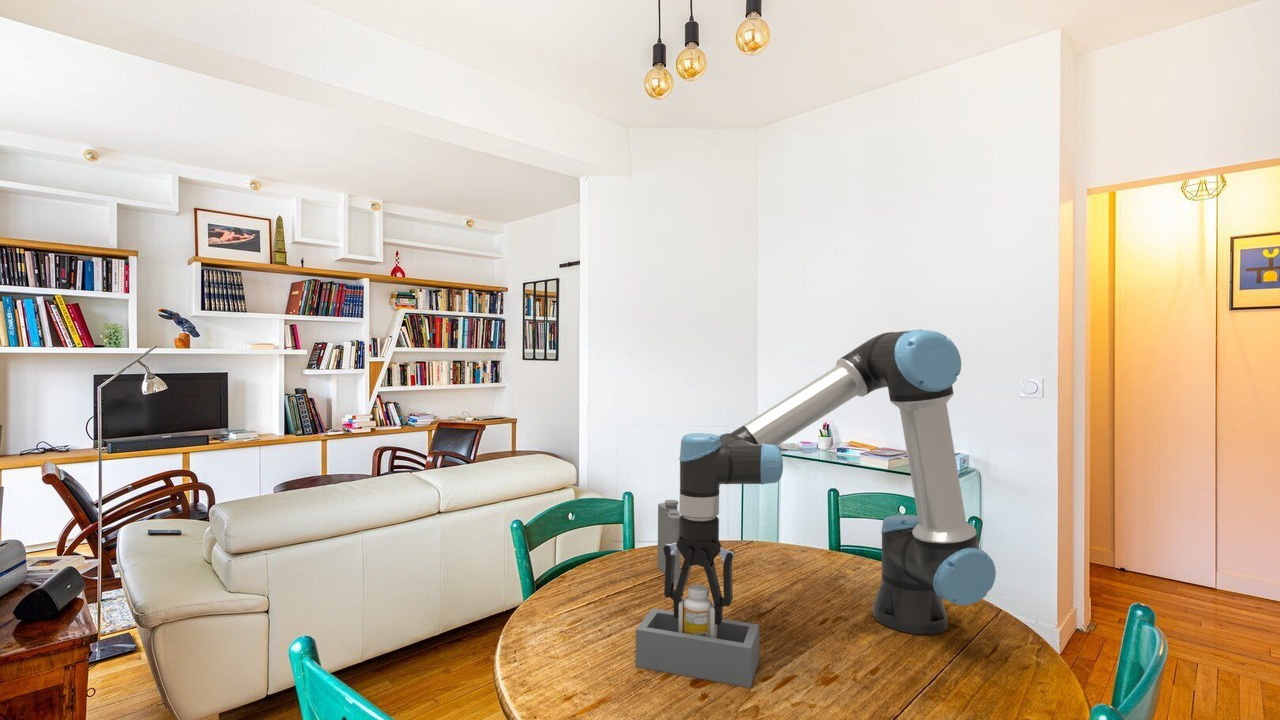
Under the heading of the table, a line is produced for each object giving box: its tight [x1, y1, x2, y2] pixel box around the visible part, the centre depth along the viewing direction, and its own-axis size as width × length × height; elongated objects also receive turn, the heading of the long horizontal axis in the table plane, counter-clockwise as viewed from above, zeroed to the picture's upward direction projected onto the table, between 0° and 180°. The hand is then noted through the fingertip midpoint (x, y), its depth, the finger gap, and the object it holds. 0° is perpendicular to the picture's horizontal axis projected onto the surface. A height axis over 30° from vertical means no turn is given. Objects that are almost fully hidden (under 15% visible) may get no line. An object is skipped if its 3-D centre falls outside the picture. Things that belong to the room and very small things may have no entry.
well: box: [634, 607, 760, 689], centre depth 114 cm, size 22×10×7 cm, turn 71°
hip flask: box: [657, 499, 682, 588], centre depth 161 cm, size 16×4×20 cm, turn 10°
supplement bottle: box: [684, 583, 713, 637], centre depth 114 cm, size 5×5×10 cm
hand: (697, 637), depth 114 cm, fingers closed on supplement bottle, 5 cm apart
